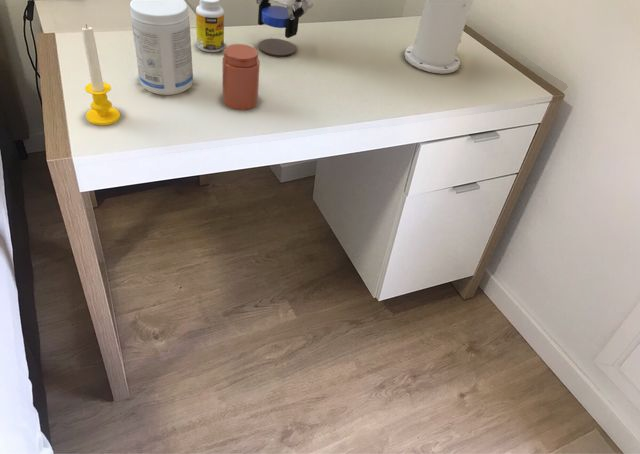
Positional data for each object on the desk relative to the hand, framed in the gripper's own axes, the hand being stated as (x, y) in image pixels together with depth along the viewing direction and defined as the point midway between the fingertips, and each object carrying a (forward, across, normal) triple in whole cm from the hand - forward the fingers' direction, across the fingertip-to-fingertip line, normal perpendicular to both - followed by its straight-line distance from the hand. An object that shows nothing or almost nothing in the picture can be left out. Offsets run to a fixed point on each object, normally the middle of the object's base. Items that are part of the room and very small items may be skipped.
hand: (277, 28), depth 109 cm
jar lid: (-3, 0, 0) cm, 3 cm away
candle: (+5, -1, -43) cm, 43 cm away
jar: (+4, +10, -22) cm, 24 cm away
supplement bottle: (+5, -9, -11) cm, 15 cm away
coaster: (+4, 0, 0) cm, 4 cm away
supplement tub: (+5, -3, -28) cm, 28 cm away
